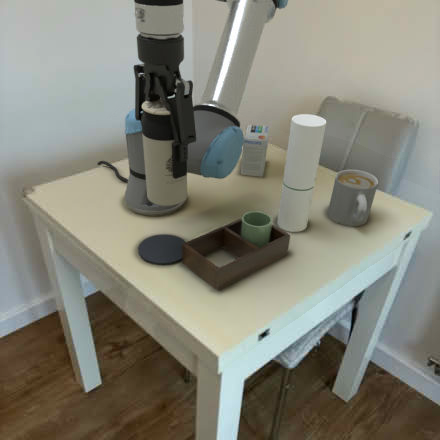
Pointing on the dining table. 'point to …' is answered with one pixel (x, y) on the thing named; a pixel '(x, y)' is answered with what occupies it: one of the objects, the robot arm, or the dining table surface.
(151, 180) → the travel mug
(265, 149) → the light bulb box
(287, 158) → the cylindrical container
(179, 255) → the slate coaster
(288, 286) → the dining table surface
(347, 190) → the coffee mug
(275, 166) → the dining table surface
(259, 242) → the sage cup
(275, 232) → the cup holder
